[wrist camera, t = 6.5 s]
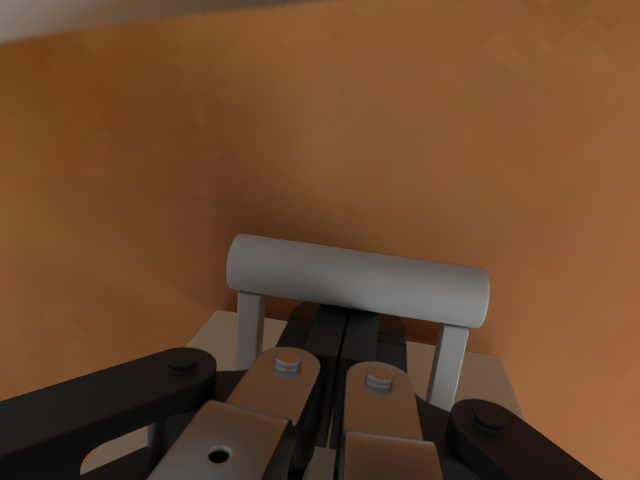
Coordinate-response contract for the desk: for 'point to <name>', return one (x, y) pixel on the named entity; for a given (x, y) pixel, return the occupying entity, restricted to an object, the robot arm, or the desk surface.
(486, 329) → the desk surface
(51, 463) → the robot arm
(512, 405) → the drawer
